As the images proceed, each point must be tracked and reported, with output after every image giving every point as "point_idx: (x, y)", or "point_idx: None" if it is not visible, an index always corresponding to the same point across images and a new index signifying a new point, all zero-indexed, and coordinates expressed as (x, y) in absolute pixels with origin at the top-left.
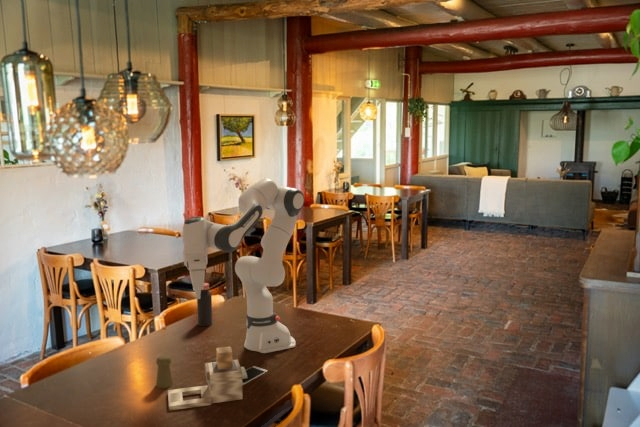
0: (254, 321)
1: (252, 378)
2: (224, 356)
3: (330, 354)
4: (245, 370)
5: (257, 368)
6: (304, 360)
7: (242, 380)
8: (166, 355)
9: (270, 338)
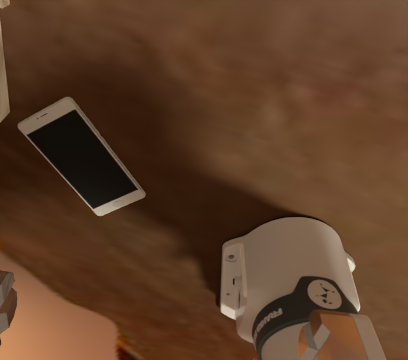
0: (276, 317)
1: (54, 165)
2: None
3: (141, 344)
4: (121, 166)
5: (122, 198)
6: (131, 299)
7: (47, 136)
8: None
9: (241, 293)
